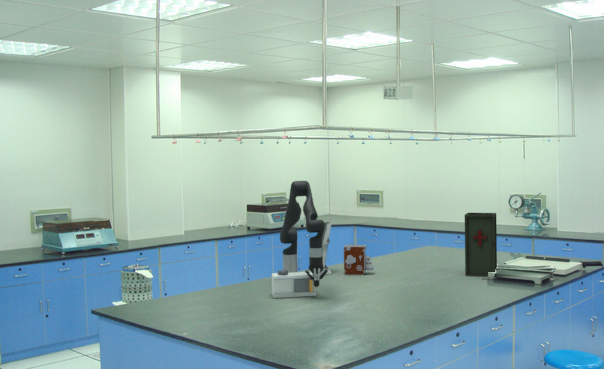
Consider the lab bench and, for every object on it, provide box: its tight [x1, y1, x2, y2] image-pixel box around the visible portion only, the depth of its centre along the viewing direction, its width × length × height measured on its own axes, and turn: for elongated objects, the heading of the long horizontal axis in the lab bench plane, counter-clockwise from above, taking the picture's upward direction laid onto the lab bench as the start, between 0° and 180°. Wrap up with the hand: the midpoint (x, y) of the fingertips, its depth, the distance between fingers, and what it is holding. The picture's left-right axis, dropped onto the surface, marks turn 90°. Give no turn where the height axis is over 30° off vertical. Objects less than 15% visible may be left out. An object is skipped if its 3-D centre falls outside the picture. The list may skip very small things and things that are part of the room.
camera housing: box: [271, 269, 318, 299], centre depth 318 cm, size 11×24×14 cm, turn 99°
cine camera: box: [343, 244, 374, 276], centre depth 378 cm, size 9×19×20 cm, turn 78°
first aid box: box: [464, 212, 498, 278], centre depth 370 cm, size 18×18×40 cm
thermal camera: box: [316, 221, 332, 276], centre depth 383 cm, size 12×13×35 cm
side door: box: [294, 278, 313, 292], centre depth 311 cm, size 5×10×7 cm, turn 99°
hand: (316, 286), depth 311 cm, fingers closed
